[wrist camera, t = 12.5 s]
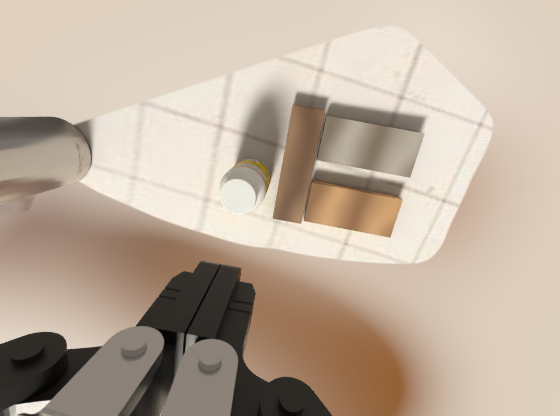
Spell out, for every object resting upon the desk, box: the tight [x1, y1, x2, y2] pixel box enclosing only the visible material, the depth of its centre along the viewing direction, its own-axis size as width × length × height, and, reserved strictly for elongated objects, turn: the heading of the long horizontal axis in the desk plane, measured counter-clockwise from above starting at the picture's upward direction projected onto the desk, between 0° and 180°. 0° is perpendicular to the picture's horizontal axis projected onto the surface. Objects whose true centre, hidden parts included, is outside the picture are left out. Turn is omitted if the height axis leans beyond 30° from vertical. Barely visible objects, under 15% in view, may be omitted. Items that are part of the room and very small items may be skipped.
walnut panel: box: [273, 105, 325, 224], centre depth 37 cm, size 4×15×2 cm, turn 170°
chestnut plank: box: [304, 180, 402, 237], centre depth 39 cm, size 12×6×2 cm, turn 80°
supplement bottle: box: [219, 159, 270, 214], centre depth 34 cm, size 5×5×10 cm
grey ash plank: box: [317, 116, 424, 177], centre depth 36 cm, size 12×6×2 cm, turn 80°
